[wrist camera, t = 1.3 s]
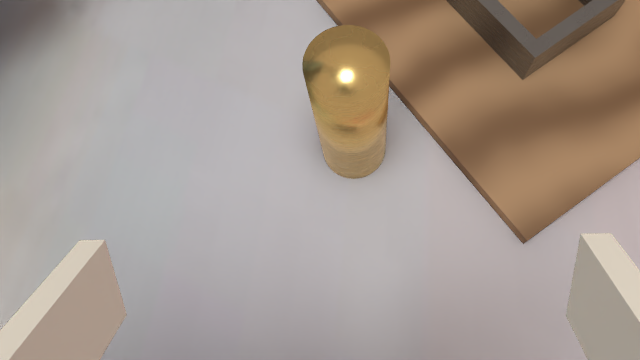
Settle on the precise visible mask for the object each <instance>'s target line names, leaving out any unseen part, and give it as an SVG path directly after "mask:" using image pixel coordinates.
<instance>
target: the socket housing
mask: <svg viewBox="0 0 640 360" xmlns="http://www.w3.org/2000/svg"><path fill="white" fill-rule="evenodd" d="M446 1H447V2H448V3H449V4H450V5H451V6H452V7H453V8H454V9H455V10H456V11H457V12H458V13H459V14H460V15H461V16H462V18H463V19H464V20H465V21H466V22H467V23H468V24H469V25H470V26H471V27H472V28H473V29H474V30H475V31H476V32H477V33H478V34H479V35H480V36H481V37H482V38H483V39H484V40H485V41H486V43H487V44H488V45H489V46H490V47H491V48H492V49H493V50H494V51H495V52H496V53H497V54H498V55H499V56H500V57H501V58H502V59H503V60H504V61H505V62H506V63H507V64H508V65H509V66H510V68H511V69H512V70H513V71H514V72H515V73H516V74H517V75H518V76H519V77H520V78H521V79H522V80H524V79H525V78H527V77H528V76H529V75H531V74H532V73H534V72H535V71H537V70H538V69H539V68H541V67H542V66H544V65H545V64H547V63H548V62H549V61H551V60H552V59H554V58H555V57H557V56H558V55H559V54H561V53H562V52H564V51H565V50H567V49H568V48H569V47H571V46H572V45H574V44H575V43H577V42H578V41H579V40H581V39H582V38H584V37H585V36H587V35H588V34H589V33H591V32H592V31H594V30H595V29H597V28H598V27H599V26H601V25H602V24H604V23H605V22H607V21H608V20H609V19H611V18H612V17H614V16H615V14H616V13H617V12H618V10H619V9H620V7H621V6H622V5H623V3H624V2H625V0H579V1H580V2H581V3H582V4H583V5H584V6H583V7H582V8H580V9H579V10H578V11H576V12H575V13H573V14H572V15H570V16H569V17H567V18H566V19H565V20H563V21H562V22H560V23H559V24H557V25H556V26H554V27H553V28H552V29H550V30H549V31H547V32H546V33H544V34H543V35H541V36H540V37H539V38H537V39H536V38H535V37H534V36H533V35H532V34H531V33H530V32H529V31H528V30H527V29H526V28H525V27H524V26H523V25H522V24H521V23H520V22H519V21H518V20H517V19H516V18H515V17H514V16H513V15H512V14H511V13H510V12H509V11H508V10H507V9H506V8H505V7H504V6H503V5H502V4H501V3H500V2H499V1H498V0H446Z"/></svg>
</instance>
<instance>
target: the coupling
mask: <svg viewBox="0 0 640 360" xmlns="http://www.w3.org/2000/svg"><path fill="white" fill-rule="evenodd" d="M303 74H304V78H305V82H306V86H307V90H308V94H309V98H310V102H311V106H312V110H313V114H314V118H315V122H316V126H317V130H318V134H319V138H320V142H321V146H322V150H323V154H324V158H325V161H326V163H327V164H328V166H329V167H330V168H331V170H333V171H334V172H335V173H336V174H338V175H340V176H343V177H346V178H353V179H354V178H362V177H365V176H367V175H369V174H371V173H373V172H374V171H375V170H376V169H377V168H378V167H379V166H380V164H381V163H382V161H383V158H384V154H385V142H386V126H387V110H388V94H389V78H390V55H389V51H388V49H387V47H386V45H385V43H384V42H383V40H382V39H381V38H380V37H379V36H378V35H376V34H375V33H374V32H372V31H370V30H369V29H366V28H364V27H360V26H355V25H341V26H336V27H333V28H330V29H328V30H325V31H324V32H322V33H320V34H319V35H318V36H316V37H315V38H314V39H313V40H312V42H311V43H310V44H309V46H308V47H307V49H306V51H305V54H304V57H303Z"/></svg>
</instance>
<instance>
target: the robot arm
mask: <svg viewBox="0 0 640 360" xmlns="http://www.w3.org/2000/svg"><path fill="white" fill-rule="evenodd" d="M126 315H127V314H126V310H125V307H124V303H123V300H122V296H121V293H120V290H119V286H118V283H117V279H116V276H115V272H114V269H113V266H112V262H111V259H110V255H109V252H108V248H107V245H106V241H105V240H80V241H79V242H78V243H77V244H76V245H75V246H74V247H73V249H72V250H71V251H70V252H69V253H68V254H67V255H66V256H65V258H64V259H63V260H62V261H61V262H60V263H59V264H58V266H57V267H56V268H55V269H54V270H53V271H52V272H51V274H50V275H49V276H48V277H47V278H46V279H45V280H44V281H43V283H42V284H41V285H40V286H39V287H38V288H37V289H36V291H35V292H34V293H33V294H32V295H31V296H30V297H29V299H28V300H27V301H26V302H25V303H24V304H23V305H22V306H21V308H20V309H19V310H18V311H17V312H16V313H15V314H14V316H13V317H12V318H11V319H10V320H9V321H8V322H7V324H6V325H5V326H4V327H3V328H2V329H1V330H0V360H100V359H101V357H102V355H103V354H104V352H105V350H106V349H107V347H108V345H109V344H110V342H111V340H112V339H113V337H114V335H115V334H116V332H117V330H118V328H119V327H120V325H121V323H122V322H123V320H124V318H125V317H126ZM566 317H567V319H568V321H569V323H570V325H571V327H572V329H573V331H574V333H575V335H576V337H577V339H578V341H579V343H580V345H581V347H582V349H583V351H584V353H585V355H586V357H587V359H588V360H640V271H639V269H638V268H637V267H636V265H635V264H634V263H633V261H632V260H631V259H630V257H629V256H628V255H627V253H626V252H625V251H624V250H623V248H622V247H621V246H620V244H619V243H618V242H617V240H616V239H615V238H614V236H613V235H612V234H611V233H605V234H581V235H580V240H579V246H578V251H577V257H576V262H575V268H574V274H573V279H572V285H571V290H570V296H569V301H568V307H567V313H566Z"/></svg>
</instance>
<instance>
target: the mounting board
mask: <svg viewBox="0 0 640 360" xmlns="http://www.w3.org/2000/svg"><path fill="white" fill-rule="evenodd" d="M317 1H318V3H319V4H320V5H321V6H322V7H323V8H324V10H325V11H326V12H327V13H328V14H329V16H330V17H331V18H332V19H333V20H334V21H335V23H336V24H337V25H338V26H341V25H355V26H360V27H364V28H366V29H369V30H370V31H372V32H374V33H375V34H376V35H378V36H379V37H380V38H381V39H382V40H383V42H384V43H385V45H386V47H387V49H388V51H389V55H390V78H389V86H390V87H391V89H392V90H393V91H394V92H395V93H396V94H397V96H398V97H399V98H400V99H401V100H402V102H403V103H404V104H405V105H406V106H407V107H408V109H409V110H410V111H411V112H412V113H413V115H414V116H415V117H416V118H417V119H418V120H419V122H420V123H421V124H422V125H423V126H424V127H425V129H426V130H427V131H428V132H429V133H430V135H431V136H432V137H433V138H434V139H435V140H436V142H437V143H438V144H439V145H440V146H441V147H442V149H443V150H444V151H445V152H446V153H447V155H448V156H449V157H450V158H451V159H452V160H453V162H454V163H455V164H456V165H457V166H458V168H459V169H460V170H461V171H462V172H463V173H464V175H465V176H466V177H467V178H468V179H469V180H470V182H471V183H472V184H473V185H474V186H475V188H476V189H477V190H478V191H479V192H480V193H481V195H482V196H483V197H484V198H485V199H486V200H487V202H488V203H489V204H490V205H491V206H492V208H493V209H494V210H495V211H496V212H497V213H498V215H499V216H500V217H501V218H502V219H503V221H504V222H505V223H506V224H507V225H508V226H509V228H510V229H511V230H512V231H513V232H514V233H515V235H516V236H517V237H518V238H519V239H520V241H521V242H522V243H525V242H526V241H528V240H529V239H530V238H532V237H533V236H534V235H536V234H537V233H538V232H540V231H541V230H542V229H544V228H545V227H547V226H548V225H549V224H551V223H552V222H553V221H555V220H556V219H557V218H559V217H560V216H561V215H563V214H564V213H565V212H567V211H568V210H570V209H571V208H572V207H574V206H575V205H576V204H578V203H579V202H580V201H582V200H583V199H584V198H586V197H587V196H588V195H590V194H591V193H593V192H594V191H595V190H597V189H598V188H599V187H601V186H602V185H603V184H605V183H606V182H607V181H609V180H610V179H611V178H613V177H614V176H616V175H617V174H618V173H620V172H621V171H622V170H624V169H625V168H626V167H628V166H629V165H630V164H632V163H633V162H635V161H636V160H637V159H639V158H640V0H625V2H624V3H623V5H622V6H621V7H620V9H619V10H618V12H617V13H616V14H615V16H614V17H612V18H611V19H609V20H608V21H607V22H605V23H604V24H602V25H601V26H599V27H598V28H597V29H595V30H594V31H592V32H591V33H589V34H588V35H587V36H585V37H584V38H582V39H581V40H579V41H578V42H577V43H575V44H574V45H572V46H571V47H569V48H568V49H567V50H565V51H564V52H562V53H561V54H559V55H558V56H557V57H555V58H554V59H552V60H551V61H549V62H548V63H547V64H545V65H544V66H542V67H541V68H539V69H538V70H537V71H535V72H534V73H532V74H531V75H529V76H528V77H527V78H525V79H524V80H522V79H521V78H520V77H519V76H518V75H517V74H516V73H515V72H514V71H513V70H512V69H511V68H510V66H509V65H508V64H507V63H506V62H505V61H504V60H503V59H502V58H501V57H500V56H499V55H498V54H497V53H496V52H495V51H494V50H493V49H492V48H491V47H490V46H489V45H488V44H487V43H486V41H485V40H484V39H483V38H482V37H481V36H480V35H479V34H478V33H477V32H476V31H475V30H474V29H473V28H472V27H471V26H470V25H469V24H468V23H467V22H466V21H465V20H464V19H463V18H462V16H461V15H460V14H459V13H458V12H457V11H456V10H455V9H454V8H453V7H452V6H451V5H450V4H449V3H448V2H447V1H446V0H317ZM498 1H499V2H500V3H501V4H502V5H503V6H504V7H505V8H506V9H507V10H508V11H509V12H510V13H511V14H512V15H513V16H514V17H515V18H516V19H517V20H518V21H519V22H520V23H521V24H522V25H523V26H524V27H525V28H526V29H527V30H528V31H529V32H530V33H531V34H532V35H533V36H534V37H535V38H536V39H537V38H539V37H540V36H541V35H543V34H544V33H546V32H547V31H549V30H550V29H552V28H553V27H554V26H556V25H557V24H559V23H560V22H562V21H563V20H565V19H566V18H567V17H569V16H570V15H572V14H573V13H575V12H576V11H578V10H579V9H580V8H582V7H583V6H584V5H583V4H582V3H581V2H580V1H579V0H498Z"/></svg>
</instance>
